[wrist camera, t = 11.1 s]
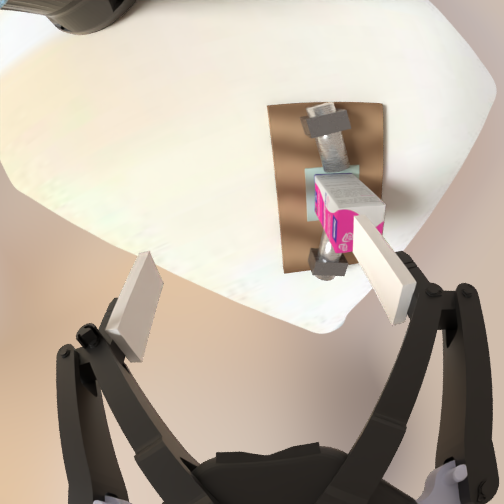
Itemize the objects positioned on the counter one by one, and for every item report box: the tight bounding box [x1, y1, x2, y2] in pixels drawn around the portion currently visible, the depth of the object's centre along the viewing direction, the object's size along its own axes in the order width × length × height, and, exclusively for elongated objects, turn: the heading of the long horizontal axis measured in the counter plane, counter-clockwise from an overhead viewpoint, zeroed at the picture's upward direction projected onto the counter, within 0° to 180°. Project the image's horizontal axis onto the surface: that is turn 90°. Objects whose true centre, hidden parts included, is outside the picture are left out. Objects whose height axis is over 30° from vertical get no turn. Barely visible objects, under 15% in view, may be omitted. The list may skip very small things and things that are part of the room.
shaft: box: [308, 228, 348, 281], centre depth 40 cm, size 9×5×4 cm, turn 175°
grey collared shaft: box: [300, 102, 351, 173], centre depth 31 cm, size 9×5×4 cm, turn 19°
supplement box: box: [314, 173, 386, 253], centre depth 32 cm, size 6×6×12 cm
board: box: [267, 102, 383, 274], centre depth 38 cm, size 26×16×1 cm, turn 7°
